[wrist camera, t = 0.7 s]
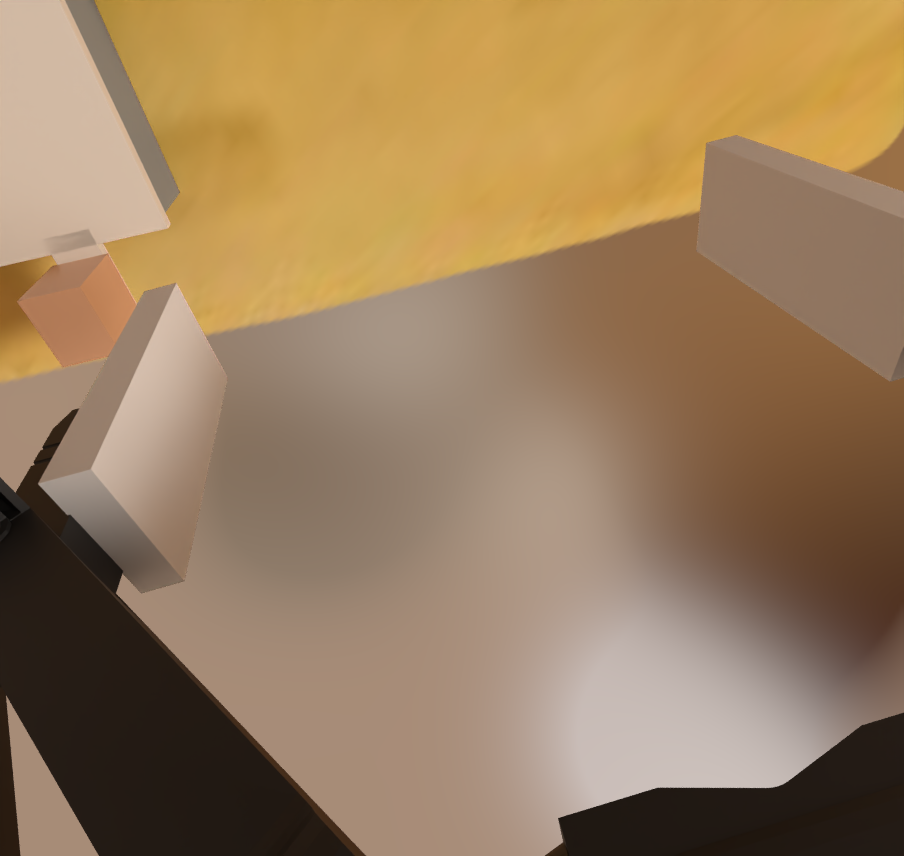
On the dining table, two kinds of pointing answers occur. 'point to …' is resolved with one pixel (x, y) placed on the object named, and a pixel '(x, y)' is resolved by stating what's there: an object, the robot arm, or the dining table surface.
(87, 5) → the tub
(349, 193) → the dining table surface
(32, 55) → the lid
